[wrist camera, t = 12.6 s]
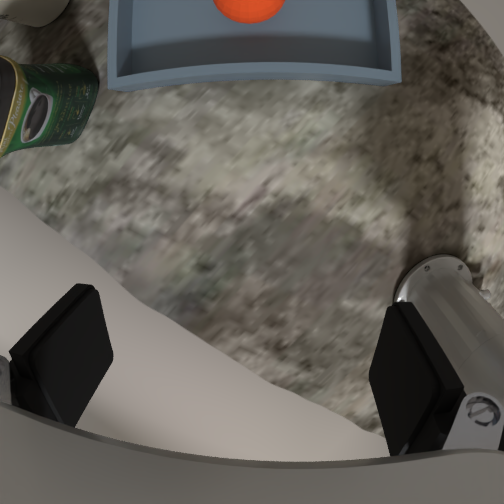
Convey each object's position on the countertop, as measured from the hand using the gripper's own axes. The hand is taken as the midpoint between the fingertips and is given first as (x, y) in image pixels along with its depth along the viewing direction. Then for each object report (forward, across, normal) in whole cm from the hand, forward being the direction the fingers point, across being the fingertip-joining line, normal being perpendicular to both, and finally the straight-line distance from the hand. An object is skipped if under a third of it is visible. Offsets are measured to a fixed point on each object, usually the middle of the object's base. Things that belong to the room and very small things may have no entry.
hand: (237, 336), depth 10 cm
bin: (+26, +2, -20) cm, 33 cm away
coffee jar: (+26, +23, -10) cm, 36 cm away
